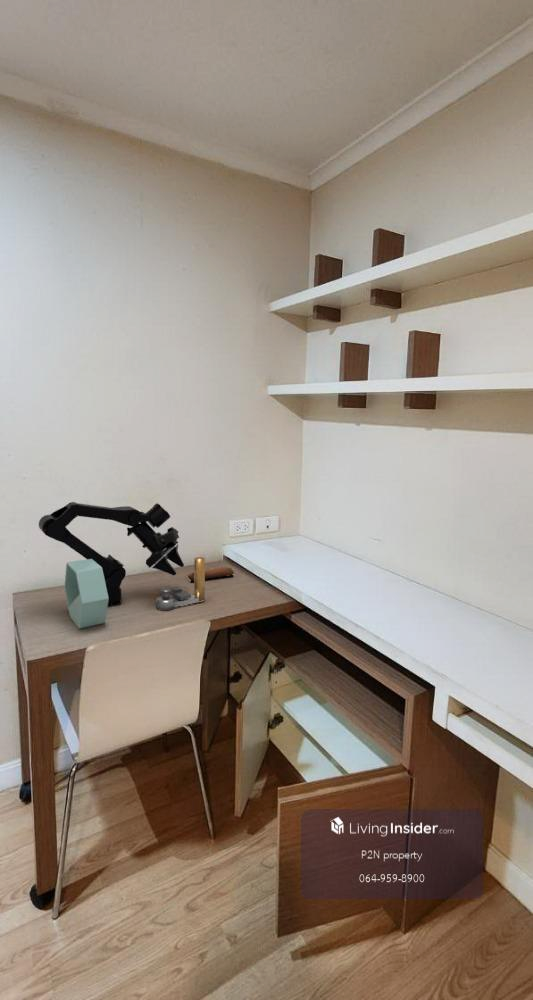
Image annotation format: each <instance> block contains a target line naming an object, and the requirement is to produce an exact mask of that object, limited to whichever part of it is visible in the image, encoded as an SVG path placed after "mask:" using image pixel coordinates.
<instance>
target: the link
mask: <svg viewBox="0 0 533 1000" xmlns="http://www.w3.org/2000/svg"><path fill="white" fill-rule="evenodd" d="M193 567H194V571H193V572H194V582H193V584H194V586H193V587H194V590H193V591H194V592H193V593H194V594H191V598H187V599H183V600H180V599H178V598H175V597H173V596H172V595H170V599H168V600H163V599H162V595H161V596H158V597H157V598H156V609H157V610H160V611H163V610H167V611H172V610H174V609H175V608H178V607H177V606H181V605H185V604H189V603H194V602H199V601H202V600H204V599H205V597H206V596H205V595H206V594H205V591H206V590H205V586H206V585H205V584H206V579H205V570H206V558H205V557H203V556H202V557H201V556H197V557H195V558H194V566H193ZM174 607H175V608H174ZM181 607H182V606H181ZM173 608H174V609H173ZM171 609H172V610H171Z"/></svg>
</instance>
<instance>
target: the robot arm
mask: <svg viewBox="0 0 533 1000" xmlns="http://www.w3.org/2000/svg"><path fill="white" fill-rule="evenodd" d="M77 517H83V518H90V519H91V518H93V519H100V520H109V521H114V522H117V523H120V524H123V525H125V526H128V527H127V528H126V530H127V535H126V536H127V537H130V536H131V535H133V536H135V537H136V538H137V539H138V540H139V541H140V543H141V544H142V546H141V547H142V548H143V549H145V548H146V549H147V550H148V551H149V552H150V553H151V554H150V556H149V557H147V559H145V565H146V566H147V567H148V568H149V569H150V568H152V569H155V570H159V571H162V572H165V573H167V574H168V575H172V576H176V575H177V572H176V570H175V569H174V567H173V566H172V564H171V563H170V562H169V561H171V562H172V563H174V564H175V565H177V566H179V567H180V568H183V567H184V566H185V564H184V562H183V560H182V558H181V556H180V554H179V551H178V549H179V541H178V539H179V538H180V536H179V530H177V528H174V527H173V526H172V527H170V528H167V532H165V533H164V534H163V533H161V532H156V531H155V528H156V529H157V528H158V529H159V528H160V527H161V526H163V524H164V523H166V522H167V521H168V520H169V519H170V518H171V515H170V514H169V512H168V510H165V509H164V507H162V506H161V505H160V504H159V503H157V502H156V503H155V504H153V506H152V507H151V508H150V509H149V510H148V511H147V512H144V511H139V510H138V509H136V508H134V507H132V506H126V505H125V506H116V507H108V506H100V505H93V504H88V503H87V504H86V503H85V504H84V503H77V502H75V501H71V502H69V503H68V504H65V506H62V507H61V508H58V509H56V510H55V511H53V512H52V513H50V514H46V515H43V516H42V517H41V518H39V520H38V528H39V530H40V531H41V532H42V533H43V534H44V535H45V536H46V537H48V538H50V539H53V540H55V541H57V542H60V543H63V544H64V545H66V546H68V547H69V548H70V549H72V550H73V551H74V552H77V553H78V554H79V555H80V556H81V557H83V558H84V559H85V560H87V559H93V560H94V561H95V562H96V563H97V564H98V565H100V566H101V567H102V569H103V574H104V579H105V583H106V588H107V593H108V598H109V600H108V607H110V606H111V607H112V606H117V605H121V604H122V602H121V601H122V588H121V585H122V582H123V580H124V579H125V578H126V575H127V573H126V572H127V570H126V568H124V563H122V562H121V561H120V560H118V559H116V558H115V557H114V556H112V555H111V554H108V556H103V555H102V554H100V553H99V552H97V551H96V550H95V549H93V548H92V547H91V546H89V545H88V544H86V543H85V542H84V541H82V540H81V539H80V538H79V537H77V536H76V535H74V534H73V533H72V532H70V530H69V529H68V528H67V526H68V525H70V523H72V522H73V521H74V519H76V518H77Z"/></svg>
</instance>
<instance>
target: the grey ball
mask: <svg viewBox="0 0 533 1000" xmlns="http://www.w3.org/2000/svg"><path fill="white" fill-rule="evenodd" d="M160 593H161V596H162V599H163V600H168V599H170V596H171V594H170V593H172V588H169V587H162V588H160Z"/></svg>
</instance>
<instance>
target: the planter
mask: <svg viewBox="0 0 533 1000" xmlns="http://www.w3.org/2000/svg"><path fill="white" fill-rule="evenodd" d="M65 566H66V567H65V575H64V586H63V587H64V594H65V598H66V603H67V608H68V609H67V610H68V613H69V614H68V615H69V618H70V619H71V620H72V621H73V623H74V624H75V625H76V626H77V628H78V629H84V628H88V627H92V626H98V625H102V624H105V623H106V619H107V612H108V607H109V606H108V600H109V598H108V593H107V588H106V583H105V579H104V574H103V569H102V567H101V566H100V565H98V564H97V563H96V562H95V561H94V560H93V559H81V560H80V559H79V560H75V561H68V562H66V565H65Z"/></svg>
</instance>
